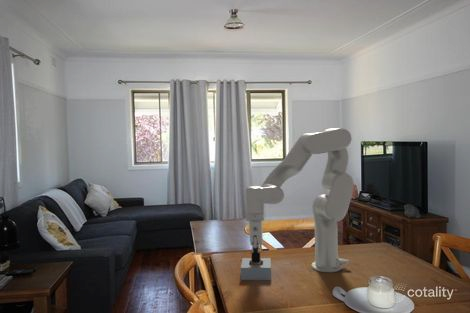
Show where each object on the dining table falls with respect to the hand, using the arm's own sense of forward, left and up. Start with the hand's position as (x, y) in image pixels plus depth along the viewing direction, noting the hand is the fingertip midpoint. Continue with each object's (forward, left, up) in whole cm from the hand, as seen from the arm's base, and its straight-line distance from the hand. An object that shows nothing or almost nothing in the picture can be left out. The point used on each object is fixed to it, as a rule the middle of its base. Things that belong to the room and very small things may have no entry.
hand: (256, 259), depth 159 cm
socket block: (0, 0, -6) cm, 6 cm away
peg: (0, 0, -7) cm, 7 cm away
